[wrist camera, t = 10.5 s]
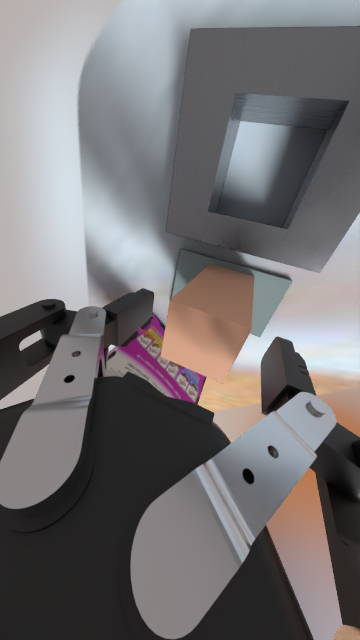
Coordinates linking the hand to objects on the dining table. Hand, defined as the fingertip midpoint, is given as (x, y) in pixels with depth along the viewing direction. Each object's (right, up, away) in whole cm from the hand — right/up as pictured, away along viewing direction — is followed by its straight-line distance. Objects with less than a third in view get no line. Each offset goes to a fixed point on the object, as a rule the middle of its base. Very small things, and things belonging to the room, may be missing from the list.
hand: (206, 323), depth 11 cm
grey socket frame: (+4, +10, +1) cm, 11 cm away
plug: (+3, +3, +5) cm, 7 cm away
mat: (+3, +3, +6) cm, 7 cm away
